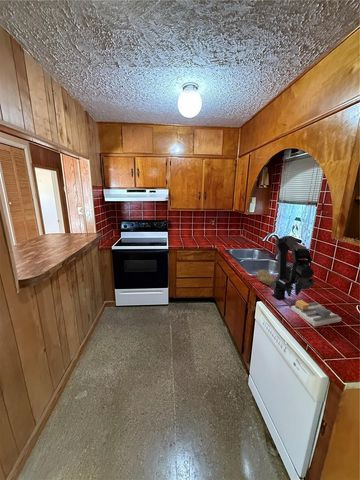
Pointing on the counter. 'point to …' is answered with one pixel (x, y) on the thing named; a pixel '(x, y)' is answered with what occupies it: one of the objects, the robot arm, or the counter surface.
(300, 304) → the fader orange
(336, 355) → the counter surface
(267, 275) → the sponge
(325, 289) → the counter surface
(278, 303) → the counter surface
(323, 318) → the console
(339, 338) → the counter surface
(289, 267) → the supplement bottle
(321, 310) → the fader grey
